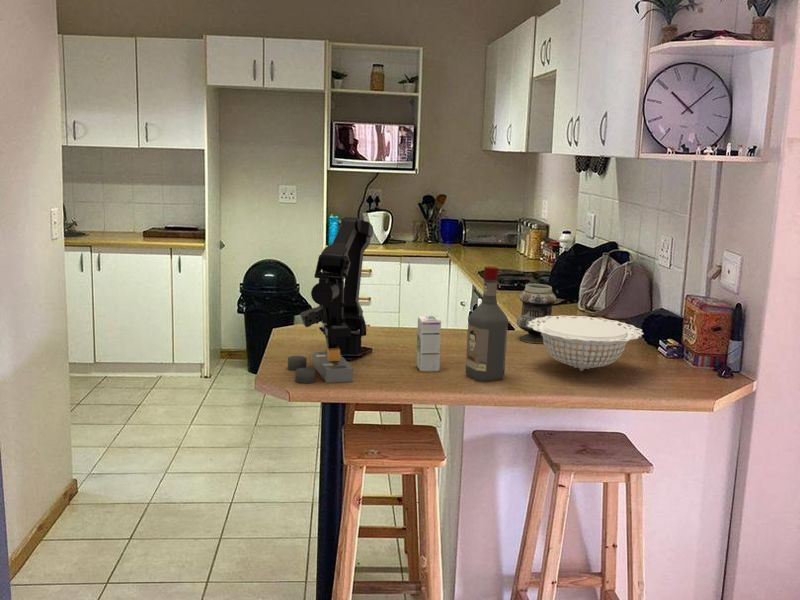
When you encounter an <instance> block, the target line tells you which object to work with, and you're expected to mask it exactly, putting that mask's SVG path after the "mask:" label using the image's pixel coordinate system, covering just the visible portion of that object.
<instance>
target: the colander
mask: <svg viewBox="0 0 800 600" xmlns="http://www.w3.org/2000/svg"><path fill="white" fill-rule="evenodd" d="M549 317H551V318H549ZM537 321H538V322H537ZM532 322H533V323H532ZM539 322H540V323H539ZM543 322H544V323H543ZM528 323H529V325H528V327H530V328H533V330H535V331H539V332H541V335H542V336H543V342H544V343H543V344H544V348H545V350H546V351H547V353H548V354H549V356H551V358H553V359H554V360H556V361H558V362H559V363H562V364H565V365H569V366H570V367H573V368H574V369H576V368H578V369H579V371H580V372H581V371H584V369H588V370H589V369H590V368H591V369H594V368H600V367H606V366H609V365H611V364H613V363H615V362H616V361H617V360H619V357H621V356H622V354H623V352H624V351H625V347H626V345H627V343H628V342H630V341H634V340H639V338H642V336H643V335H644V332H643V329H641V328H639V327H636V326H635V325H633V324H628V323H626V322H621V321H619V320H614V319H613V320H612V319H607V318H603V317H591V316H585V315H580V316H579V315H578V316H577V315H551V316H545V317H541V318H536V319H535V320H532V321H529V322H528ZM538 325H539V326H538ZM545 341H546V342H545ZM547 341H548V343H547ZM564 348H565V349H564ZM591 350H592V351H591ZM596 351H598V352H596Z"/></svg>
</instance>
